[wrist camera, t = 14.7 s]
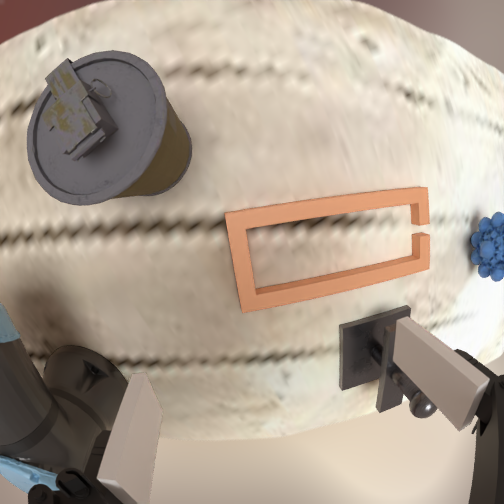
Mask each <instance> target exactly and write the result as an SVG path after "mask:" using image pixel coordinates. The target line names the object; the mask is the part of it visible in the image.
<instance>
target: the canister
mask: <svg viewBox="0 0 504 504" xmlns="http://www.w3.org/2000/svg"><path fill="white" fill-rule="evenodd" d="M45 80H46V82H47V84H48V85H47V87H46V88H45V90H44V91H43V92H42V94H41V96H40V97H39V99H38V101H37V103H36V105H35V108H34V111H33V114H32V117H31V120H30V123H29V126H28V131H27V153H28V161H29V163H30V166H31V169H32V171H33V174H34V176H35V179H36V180H37V182H38V183H39V184H40V186H41V187H42V188H43V189H44V190H45V191H46V192H47V193H48V194H49V195H50V196H52V197H54V198H55V199H57V200H59V201H61V202H64V203H68V204H72V205H92V204H98V203H101V202H104V201H106V200H109V199H114V198H122V197H130V196H138V195H139V196H153V195H157V194H160V193H163V192H165V191H167V190H169V189H170V188H172V187H173V186H174V185H175V184H177V183H178V182H179V181H180V180H181V178H182V177H183V175H184V174H185V172H186V170H187V168H188V166H189V164H190V160H191V154H192V144H191V138H190V136H189V133H188V131H187V129H186V127H185V126H184V125H183V123H182V122H181V121H180V120H179V118H178V117H177V115H176V113H175V111H174V110H173V108H172V106H171V104H170V103H169V101H168V99H167V97H166V93H165V89H164V86H163V84H162V82H161V80H160V77H159V76H158V75H157V73H156V72H155V70H154V69H153V68H152V67H151V66H150V65H149V64H148V63H147V62H146V61H144V60H142V59H141V58H139V57H137V56H135V55H133V54H131V53H127V52H120V51H114V50H112V51H104V52H97V53H93V54H90V55H87V56H85V57H82V58H80V59H78V60H77V61H75V62H72V61H71V60H69V59H68V58H67V59H66V60H65V61H64V62H62V63H61V64H60V65H59V66H58V67H57V68H56V69H54V70H53V71H52V72H51V73H50V74H49V75H48V76H47V77H46V78H45Z"/></svg>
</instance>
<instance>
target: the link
mask: <svg viewBox="0 0 504 504" xmlns="http://www.w3.org/2000/svg"><path fill="white" fill-rule="evenodd" d="M406 204H411V221H412V224H415V225H419V226H420V225H426V224H430V222H429V200H428V187H413V188H403V189H393V190H383V191H374V192H365V193H357V194H348V195H340V196H332V197H325V198H317V199H310V200H303V201H296V202H289V203H282V204H276V205H269V206H263V207H256V208H250V209H244V210H238V211H232V212H226V213H225V219H226V225H227V231H228V237H229V243H230V248H231V254H232V260H233V266H234V271H235V277H236V282H237V288H238V293H239V299H240V304H241V309H242V313H245V312H251V311H256V310H261V309H267V308H272V307H277V306H282V305H286V304H291V303H296V302H301V301H305V300H310V299H314V298H319V297H323V296H328V295H332V294H336V293H340V292H345V291H349V290H353V289H357V288H361V287H365V286H369V285H373V284H377V283H381V282H384V281H388V280H392V279H396V278H399V277H403V276H406V275H410V274H414V273H417V272H421V271H424V270H427V269H429V263H430V235H429V234H425V233H422V232H421V233H416V234H412V256H408V257H404V258H399V259H395V260H391V261H387V262H383V263H378V264H374V265H370V266H365V267H361V268H356V269H352V270H347V271H343V272H338V273H333V274H329V275H324V276H319V277H314V278H309V279H305V280H300V281H295V282H290V283H285V284H280V285H274V286H269V287H264V288H259V289H255V285H254V279H253V273H252V266H251V260H250V254H249V248H248V241H247V235H246V229H248V228H254V227H260V226H266V225H272V224H278V223H284V222H290V221H297V220H303V219H309V218H316V217H322V216H329V215H335V214H342V213H349V212H356V211H363V210H370V209H377V208H384V207H391V206H398V205H406Z"/></svg>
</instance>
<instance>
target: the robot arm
mask: <svg viewBox="0 0 504 504" xmlns="http://www.w3.org/2000/svg"><path fill="white" fill-rule="evenodd" d="M393 361H394V362H395V363H396V365H397V366H398V367H399V368H400V369H401V370H402V371H403V372H404V373H405V374H406V375H407V376H408V377H409V378H410V379H411V380H412V381H413V382H414V383H415V384H416V385H417V387H418V388H419V389H420V390H421V391H422V392H423V393H424V394H425V395H426V396H427V397H428V398H429V399H430V400H431V401H432V402H433V404H434V405H435V406H436V407H437V408H438V409H439V410H440V411H441V412H442V413H443V414H444V415H445V416H446V418H447V419H448V420H449V421H450V422H451V423H452V424H453V425H454V426H455V427H456V428H457V430H458V431H461V430H462V429H464V428H465V427H467V426H468V425H470V424H471V422H472V420H473V418H474V416H475V415H476V416H477V417H478V420H477V422H476V424H475V426H474V428H473V430H472V434H474V432H475V430H476V429H477V433H476V434H477V435H476V451H475V463H474V472H473V480H472V487H471V493H470V499H469V504H504V375H500V376H497V375H496V374H494V373H493V372H492V371H490V370H489V369H488V368H487V367H485V366H484V365H483V364H481V363H480V362H478V361H477V360H476V359H475V358H474V359H473V357H472V356H471V355H469V354H468V353H467V352H465V351H462V350H459V349H456V350H452V349H451V348H450V347H448V346H447V345H446V344H444V343H443V342H442V341H441V340H439V339H438V338H437V337H435V336H434V335H433V334H431V333H430V332H429V331H427V330H426V329H424V328H423V327H422V326H420V325H419V324H418V323H416V322H415V321H414V320H412V319H411V318H410V317H408V316H407V317H404V318H401V319H398V320H397V323H396V336H395V346H394V355H393ZM162 416H163V410H162V407H161V405H160V403H159V401H158V399H157V397H156V394H155V392H154V390H153V388H152V385H151V383H150V381H149V378H148V376H147V373H135V374H132V376H131V379H130V381H129V384H127V382H126V380H125V379H124V377H123V376H122V374H121V373H120V372H119V371H118V369H117V368H116V367H115V366H114V365H113V364H111V363H110V362H109V361H108V360H106V359H105V358H104V357H102V356H101V355H99V354H97V353H95V352H93V351H91V350H89V349H86V348H83V347H79V346H64V347H61V348H59V349H57V350H56V351H55V352H54V353H53V354H52V355H51V356H50V358H49V359H48V360H47V362H46V364H45V368H44V375H43V379H42V377H41V376H40V374H39V372H38V371H37V369H36V367H35V365H34V364H33V362H32V360H31V358H30V356H29V355H28V353H27V351H26V349H25V347H24V345H23V343H22V341H21V339H20V333H19V332H18V331H16V329H15V327H14V325H13V323H12V321H11V319H10V317H9V315H8V313H7V311H6V309H5V307H4V306H3V305H2V304H1V303H0V474H1V475H3V476H4V477H5V478H6V479H7V480H8V481H9V482H11V483H12V484H13V485H15V486H16V487H18V488H19V489H21V490H22V491H24V492H26V493H27V494H28V504H149V502H150V494H151V486H152V479H153V471H154V464H155V458H156V451H157V445H158V439H159V433H160V427H161V421H162Z"/></svg>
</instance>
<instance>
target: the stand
mask: <svg viewBox="0 0 504 504" xmlns="http://www.w3.org/2000/svg"><path fill="white" fill-rule="evenodd" d="M410 313H411V308H410V307H409V306H407V305H406V306H403V307H400V308H396V309H393V310H390V311H387V312H384V313H380V314H377V315H374V316H370V317H367V318H364V319H360V320H357V321H353V322H349V323H346V324H342V325H339V326H340V385H339V387H340V388H341V390H342V391H343V390H346V389H349V388H352V387H355V386H358V385H361V384H364V383H367V382H370V381H373V380H375V379H378V378H380V380H379V388H378V395H377V402H376V408H377V410H378V411H379V413H381V412H383V411H386V410H388V409H391V408H393V407H395V406H398V405H400V404H401V403H402V399H403V394H404V395H405V396H406V397H407V398H408V399H409V401H410V404H409V407H410V411H411V412H412V414H413V415H414V416H415V417H418V418H427V417H429V416H431V415H432V414H433V413H434V412H435V411H436V410H437V407H436V406H435V405H434V404H433V402H432V401H431V400H430V399H429V398H428V397H427V396H426V395H425V394H424V393H423V392H422V391H421V390H420V389H419V388H418V387H417V385H416V384H415V383H414V382H413V381H412V380H411V379H410V378H409V377H408V376H407V375H406V374H405V373H404V372H403V371H402V370H401V369H400V368H399V367H398V366H397V365H396V363H395V362H394V361H393V355H394V346H395V336H396V323H397V320H398V319H401V318H404V317H407V316H408V317H410Z"/></svg>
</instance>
